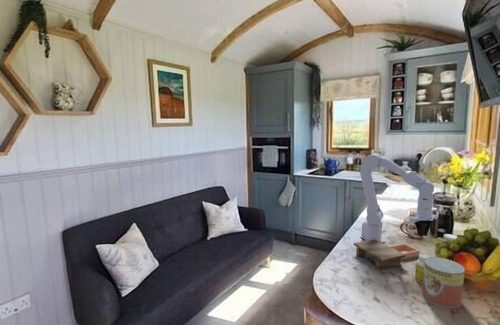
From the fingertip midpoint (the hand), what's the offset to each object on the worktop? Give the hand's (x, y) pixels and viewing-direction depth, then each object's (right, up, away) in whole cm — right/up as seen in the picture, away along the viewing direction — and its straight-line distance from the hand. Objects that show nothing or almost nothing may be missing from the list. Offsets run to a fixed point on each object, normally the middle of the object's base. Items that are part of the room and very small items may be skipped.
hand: (422, 235), depth 131 cm
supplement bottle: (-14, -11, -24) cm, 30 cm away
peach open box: (-10, -8, -3) cm, 13 cm away
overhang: (-24, -9, -8) cm, 27 cm away
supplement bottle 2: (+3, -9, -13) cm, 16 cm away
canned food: (-15, -12, -35) cm, 40 cm away
